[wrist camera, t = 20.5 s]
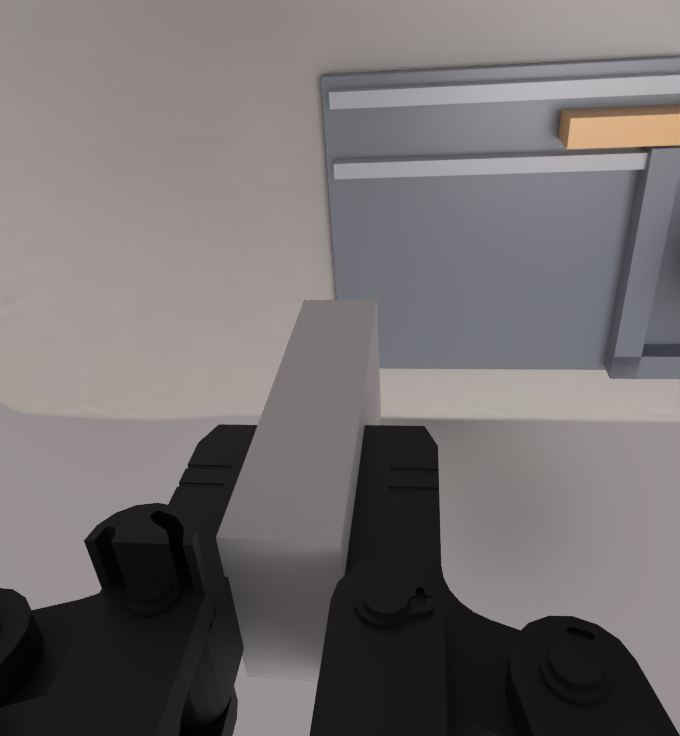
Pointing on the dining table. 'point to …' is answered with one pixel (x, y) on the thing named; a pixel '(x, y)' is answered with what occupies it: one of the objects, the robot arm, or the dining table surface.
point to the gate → (620, 127)
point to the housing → (506, 217)
